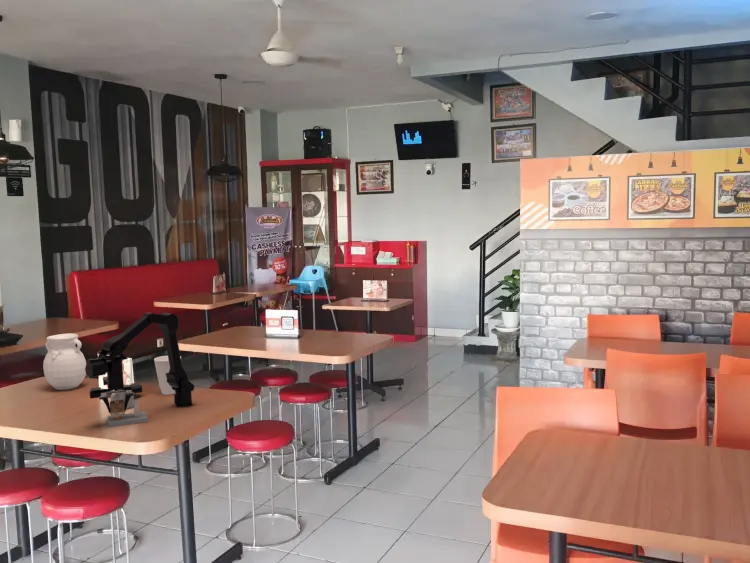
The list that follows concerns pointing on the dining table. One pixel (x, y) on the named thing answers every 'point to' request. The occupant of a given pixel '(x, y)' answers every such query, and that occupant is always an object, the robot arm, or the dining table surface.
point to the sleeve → (117, 408)
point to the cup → (123, 398)
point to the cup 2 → (163, 374)
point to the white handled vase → (64, 361)
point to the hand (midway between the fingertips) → (117, 412)
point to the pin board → (128, 417)
